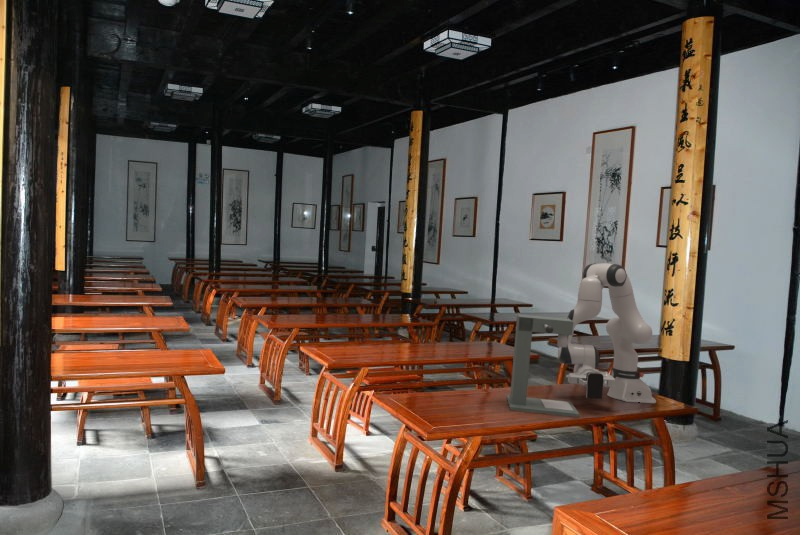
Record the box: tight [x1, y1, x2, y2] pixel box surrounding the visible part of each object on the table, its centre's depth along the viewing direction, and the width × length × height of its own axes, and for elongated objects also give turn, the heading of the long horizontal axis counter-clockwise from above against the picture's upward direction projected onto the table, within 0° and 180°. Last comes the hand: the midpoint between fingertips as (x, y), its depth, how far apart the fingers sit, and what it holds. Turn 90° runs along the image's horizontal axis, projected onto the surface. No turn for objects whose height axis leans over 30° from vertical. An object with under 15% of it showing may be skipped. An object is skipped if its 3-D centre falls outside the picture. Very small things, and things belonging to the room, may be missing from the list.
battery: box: [585, 372, 604, 400], centre depth 259 cm, size 7×4×11 cm, turn 90°
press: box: [506, 313, 580, 418], centre depth 257 cm, size 29×28×40 cm
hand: (594, 384), depth 258 cm, fingers closed on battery, 7 cm apart
